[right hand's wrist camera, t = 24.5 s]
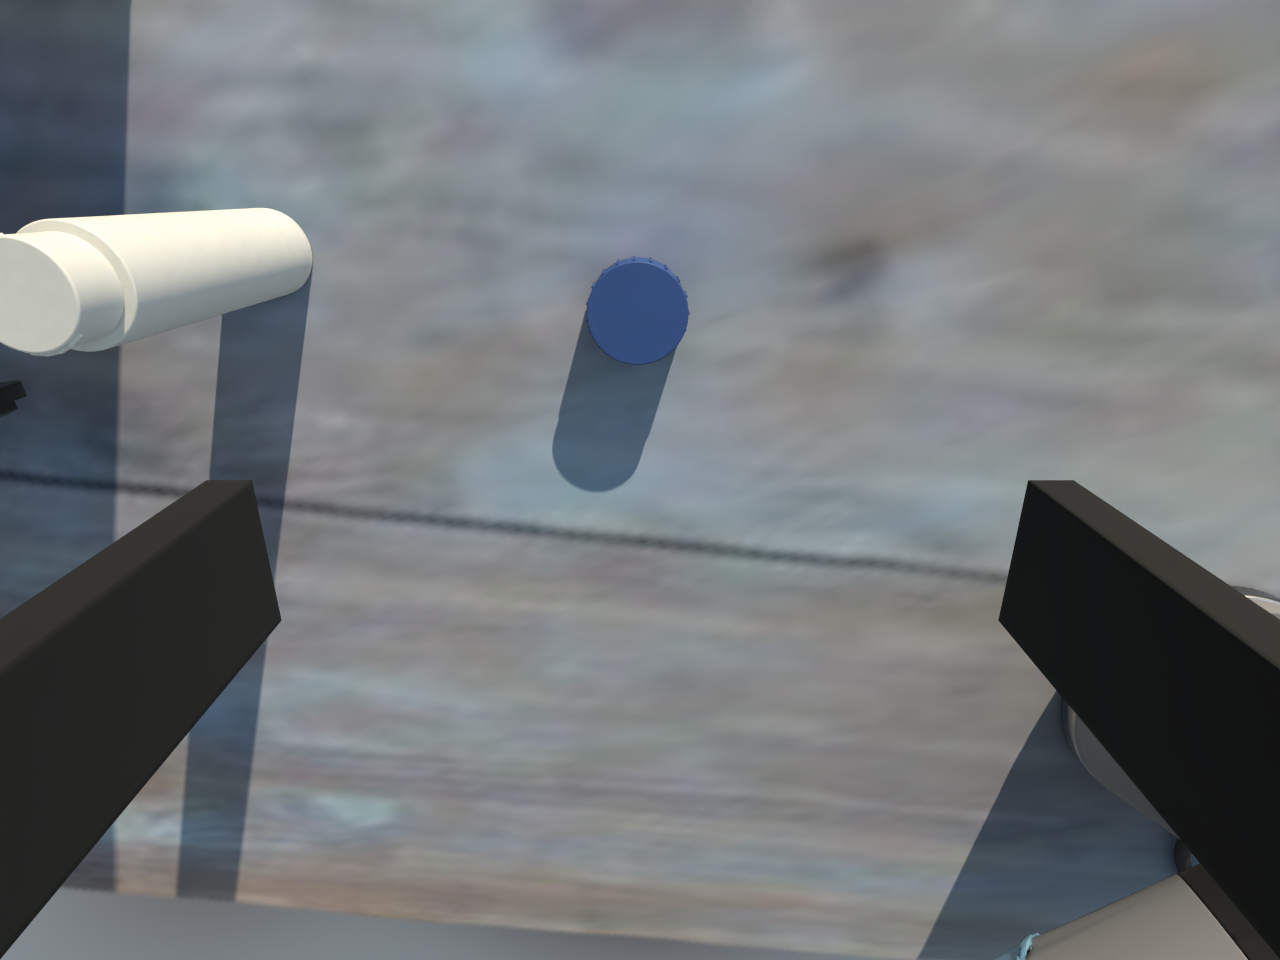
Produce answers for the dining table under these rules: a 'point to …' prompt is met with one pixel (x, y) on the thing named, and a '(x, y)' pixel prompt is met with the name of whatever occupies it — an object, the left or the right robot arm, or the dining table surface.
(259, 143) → the dining table surface
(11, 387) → the left robot arm
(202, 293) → the jar
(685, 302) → the lid
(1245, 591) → the right robot arm
